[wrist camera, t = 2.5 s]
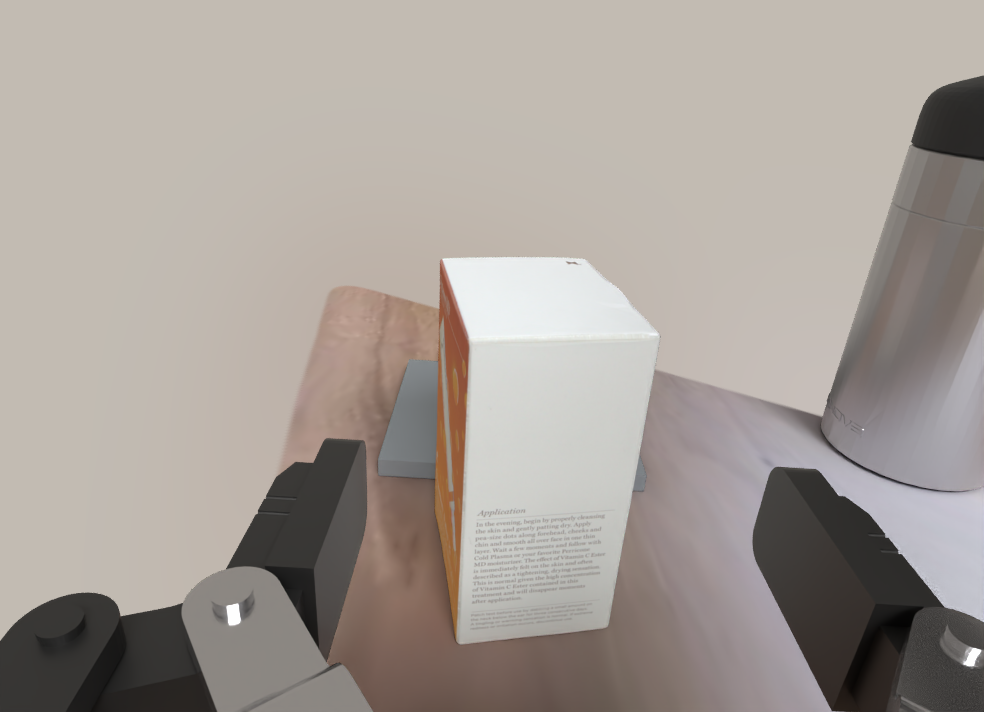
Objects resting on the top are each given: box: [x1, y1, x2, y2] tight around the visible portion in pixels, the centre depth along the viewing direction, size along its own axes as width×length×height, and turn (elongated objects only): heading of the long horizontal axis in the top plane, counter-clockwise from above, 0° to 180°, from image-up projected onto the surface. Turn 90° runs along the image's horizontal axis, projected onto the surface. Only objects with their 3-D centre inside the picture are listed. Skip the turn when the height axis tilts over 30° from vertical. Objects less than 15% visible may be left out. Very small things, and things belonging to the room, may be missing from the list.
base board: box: [378, 359, 647, 491], centre depth 39 cm, size 14×12×1 cm
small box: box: [435, 257, 661, 645], centre depth 26 cm, size 8×6×13 cm
